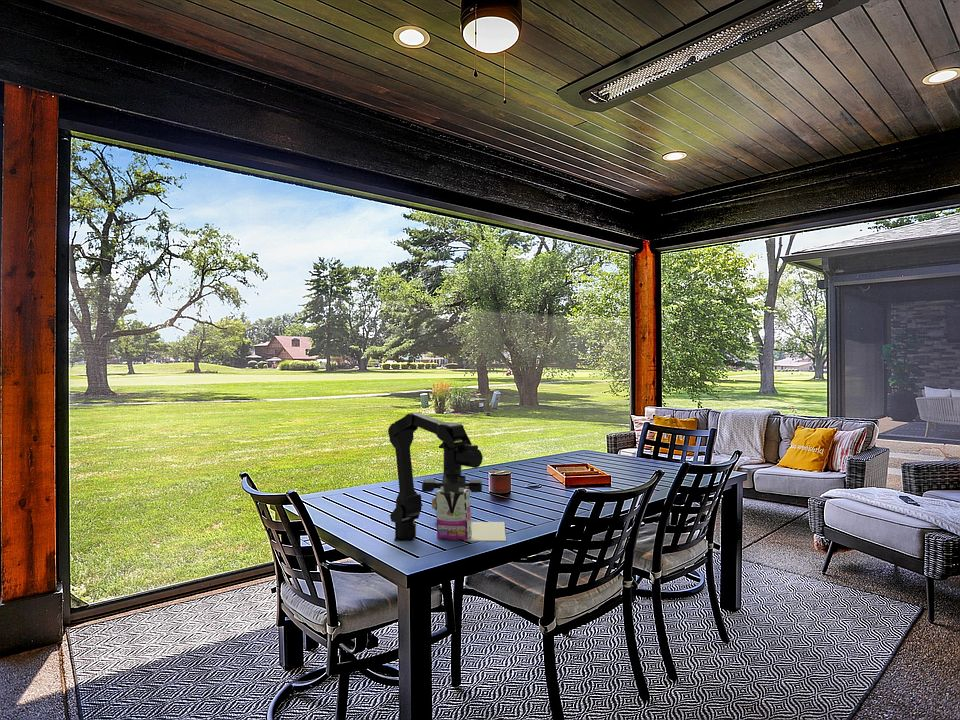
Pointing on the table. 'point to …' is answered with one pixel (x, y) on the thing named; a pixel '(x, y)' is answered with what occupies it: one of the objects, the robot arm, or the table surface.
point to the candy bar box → (453, 517)
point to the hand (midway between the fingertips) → (452, 512)
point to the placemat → (487, 531)
